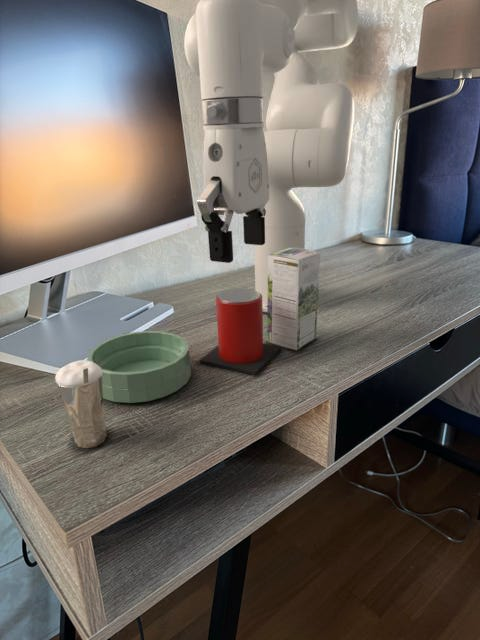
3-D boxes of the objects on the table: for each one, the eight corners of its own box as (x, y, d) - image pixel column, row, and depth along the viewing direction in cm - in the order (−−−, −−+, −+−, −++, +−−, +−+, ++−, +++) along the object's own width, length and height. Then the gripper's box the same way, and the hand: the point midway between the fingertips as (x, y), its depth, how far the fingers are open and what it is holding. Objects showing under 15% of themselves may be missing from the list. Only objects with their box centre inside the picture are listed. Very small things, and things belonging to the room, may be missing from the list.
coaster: (229, 339, 72) (229, 337, 72) (280, 349, 68) (280, 346, 68) (200, 363, 65) (199, 360, 65) (255, 375, 61) (255, 372, 61)
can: (232, 341, 70) (229, 286, 67) (270, 348, 68) (269, 291, 64) (210, 358, 65) (207, 299, 62) (251, 367, 62) (249, 305, 59)
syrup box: (286, 331, 75) (287, 246, 69) (317, 339, 71) (320, 250, 66) (266, 342, 71) (265, 253, 65) (298, 352, 67) (299, 258, 62)
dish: (136, 352, 69) (133, 325, 68) (209, 368, 63) (207, 339, 62) (71, 392, 58) (65, 361, 57) (151, 416, 53) (146, 383, 51)
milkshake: (79, 462, 45) (61, 375, 42) (64, 437, 49) (46, 356, 46) (121, 445, 48) (108, 361, 44) (104, 422, 52) (90, 344, 48)
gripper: (225, 114, 46) (233, 272, 53) (287, 115, 60) (287, 240, 67) (166, 118, 49) (181, 266, 56) (238, 118, 63) (243, 237, 70)
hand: (239, 252), depth 61 cm, fingers open, 9 cm apart
